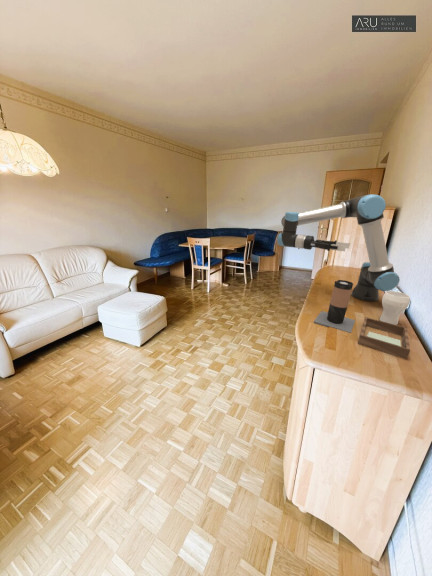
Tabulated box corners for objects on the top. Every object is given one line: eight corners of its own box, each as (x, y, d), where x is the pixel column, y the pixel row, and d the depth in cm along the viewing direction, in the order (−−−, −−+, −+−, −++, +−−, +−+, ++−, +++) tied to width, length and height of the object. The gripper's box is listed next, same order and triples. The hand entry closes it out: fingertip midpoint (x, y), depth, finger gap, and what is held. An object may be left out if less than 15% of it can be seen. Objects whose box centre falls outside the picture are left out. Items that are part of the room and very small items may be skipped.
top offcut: (367, 334, 99) (368, 331, 98) (399, 343, 93) (400, 340, 92) (366, 341, 93) (367, 338, 92) (399, 351, 87) (401, 348, 86)
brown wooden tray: (362, 325, 110) (365, 316, 109) (403, 336, 102) (407, 327, 100) (357, 344, 94) (360, 335, 92) (406, 360, 85) (410, 350, 83)
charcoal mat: (321, 312, 123) (321, 310, 122) (354, 321, 114) (355, 320, 114) (313, 322, 110) (313, 321, 110) (350, 334, 102) (350, 332, 101)
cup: (379, 323, 113) (388, 295, 108) (373, 315, 122) (381, 289, 117) (404, 328, 109) (415, 299, 104) (397, 319, 119) (406, 292, 114)
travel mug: (345, 325, 108) (356, 285, 101) (328, 323, 109) (337, 283, 102) (340, 318, 115) (350, 280, 108) (324, 316, 116) (333, 279, 110)
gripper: (309, 246, 138) (349, 251, 126) (296, 251, 118) (341, 257, 107) (312, 234, 135) (352, 237, 123) (299, 236, 116) (345, 241, 104)
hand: (347, 247), depth 115 cm, fingers open, 13 cm apart
